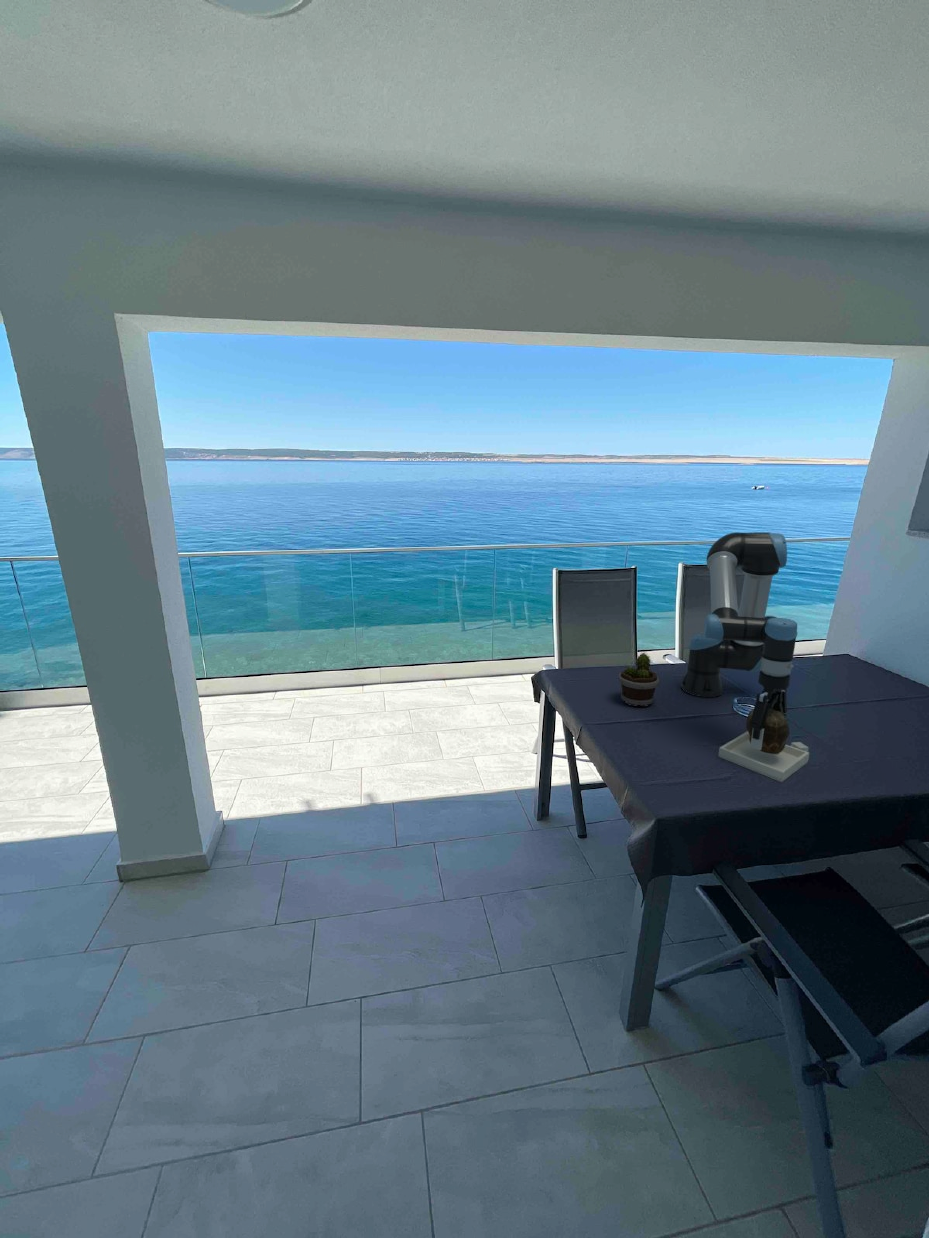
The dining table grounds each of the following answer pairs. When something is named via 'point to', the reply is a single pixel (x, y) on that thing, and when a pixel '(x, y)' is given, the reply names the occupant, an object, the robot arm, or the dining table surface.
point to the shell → (772, 732)
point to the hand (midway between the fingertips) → (765, 742)
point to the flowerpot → (638, 682)
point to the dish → (764, 758)
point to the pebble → (799, 746)
